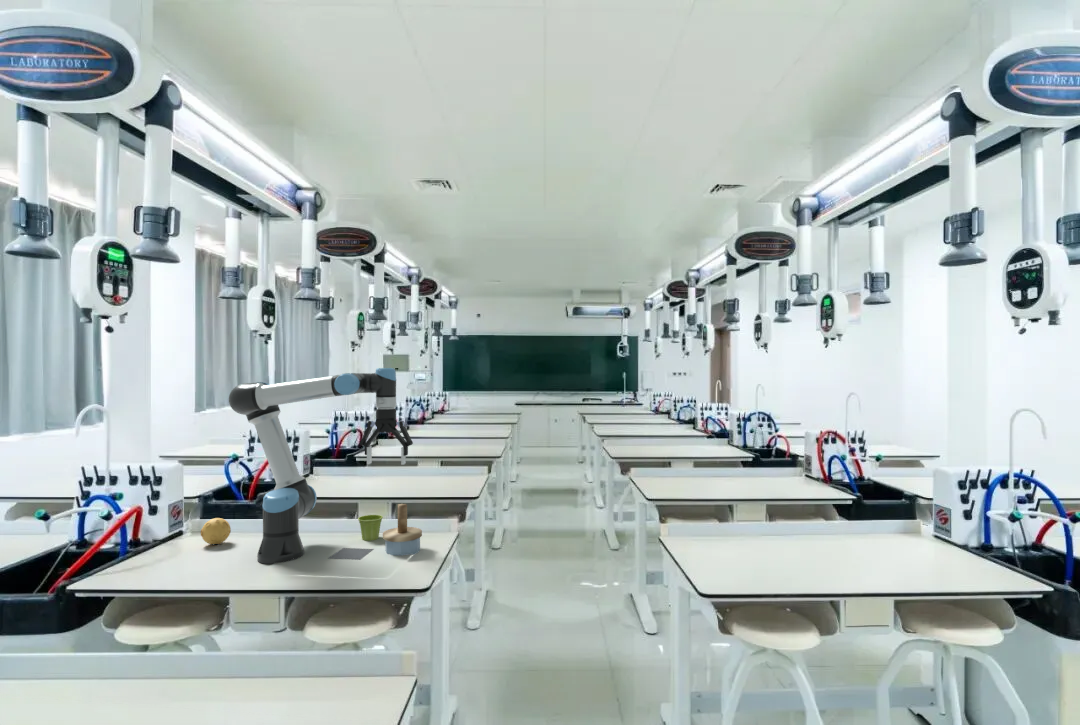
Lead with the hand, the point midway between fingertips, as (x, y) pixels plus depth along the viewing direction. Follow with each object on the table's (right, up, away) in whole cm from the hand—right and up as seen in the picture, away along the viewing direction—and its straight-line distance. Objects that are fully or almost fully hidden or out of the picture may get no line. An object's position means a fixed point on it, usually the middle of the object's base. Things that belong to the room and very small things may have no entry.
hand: (386, 464), depth 220 cm
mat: (-9, -31, -12) cm, 34 cm away
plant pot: (-8, -31, +7) cm, 33 cm away
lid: (+8, -25, -8) cm, 28 cm away
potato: (-66, -31, +2) cm, 73 cm away
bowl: (+8, -31, -8) cm, 33 cm away
